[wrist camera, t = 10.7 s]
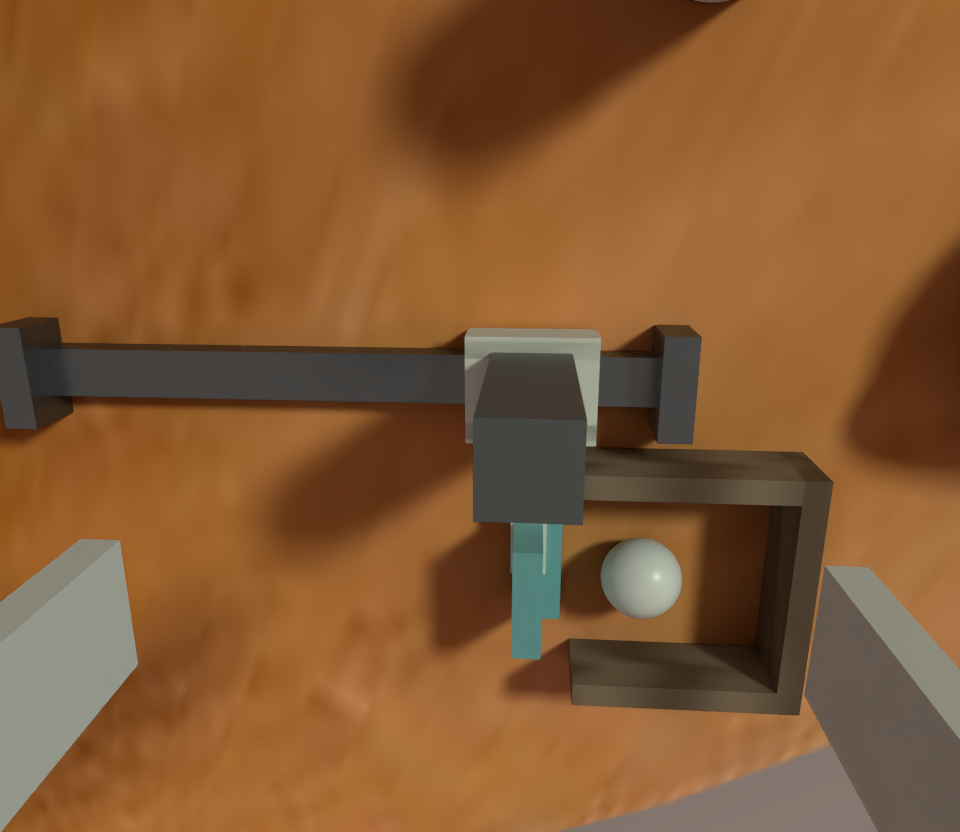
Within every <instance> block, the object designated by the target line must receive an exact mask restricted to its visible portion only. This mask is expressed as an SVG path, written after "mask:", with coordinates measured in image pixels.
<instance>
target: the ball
mask: <svg viewBox="0 0 960 832" xmlns="http://www.w3.org/2000/svg"><path fill="white" fill-rule="evenodd" d="M601 584H602V588H603V591H604V594H605V596H606V597H607V599H608V601H609V602H610V603H611V604H612V605H613V606H614V607H615V608H616V609H617V610H618V611H620V612H621V613H623V614H625V615H627V616H630V617H634V618H638V619H647V618H653V617H656V616H659V615H661V614H663V613H664V612H666V611H667V610H668V609H669V608H671V607H672V605H673V604H674V603H675V601H676V600H677V598H678V596H679V593H680V590H681V584H682V575H681V570H680V566H679V564H678V562H677V560H676V558H675V556H674V555H673V554H672V553H671V551H670V550H669V549H668V548H666V547H665V546H664V545H662V544H661V543H659V542H657V541H655V540H652V539H648V538H631V539H627V540H624V541H622V542H620V543H619V544H617V545H616V546H614V547H613V548H612V549H611V550H610V551H609V553H608V554H607V556H606V557H605V559H604V562H603V564H602V568H601Z"/></svg>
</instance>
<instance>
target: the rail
mask: <svg viewBox="0 0 960 832" xmlns="http://www.w3.org/2000/svg"><path fill="white" fill-rule="evenodd" d="M701 340H702V337H701V336H700V335H699V334H698V333H697V332H695V331H694V330H693V329H692V328H691V327H690V326H689V325H655V330H654V345H653V351H600V371H599V392H598V406H606V407H649V418H648V425H649V427H650V429H651V431H652V433H653V435H654V438H655V440H656V442H657V443H658V444H693V433H694V421H695V409H696V398H697V386H698V375H699V363H700V352H701ZM71 396H98V397H149V398H200V399H251V400H301V401H352V402H403V403H454V404H465V349H448V348H379V347H310V346H242V345H173V344H104V343H62V340H61V334H60V328H59V322H58V318H37V317H27V318H23V319H19V320H15V321H11V322H7V323H3V324H0V400H1V405H2V410H3V416H4V421H5V426H6V428H7V429H39V428H41V427H43V426H45V425H47V424H49V423H51V422H53V421H55V420H57V419H59V418H62V417H64V416H66V415H68V414H70V413H72V412H73V407H72V401H71Z"/></svg>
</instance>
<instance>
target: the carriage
mask: <svg viewBox="0 0 960 832" xmlns="http://www.w3.org/2000/svg"><path fill="white" fill-rule="evenodd" d="M600 349H601V337H600V335H599V332H598V331H596V330H595V329H522V328H471V329H468V331H467V333H466V335H465V443H473V522H499V523H511V538H510V573H512V639H511V658H519V659H541V621H542V618H545V619H559V615H560V586H561V557H562V528H563V524H564V525H583V508H584V484H585V461H586V446H596V435H597V413H598V392H599V371H600Z"/></svg>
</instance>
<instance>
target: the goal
mask: <svg viewBox="0 0 960 832" xmlns="http://www.w3.org/2000/svg"><path fill="white" fill-rule="evenodd" d="M832 488H833V481H831V480H830V479H829V478H828V477H827V476H826V475H825V474H824V473H823V472H822V471H821V470H820V469H819V468H818V467H817V466H816V465H815V464H814V463H813V462H812V461H811V460H810V459H809V458H808V457H807V456H806V455H805V454H804V453H803V452H770V451H727V450H685V449H642V448H600V447H586V461H585V484H584V500H602V501H637V502H672V503H707V504H742V505H772V507H771V516H770V524H769V532H768V540H767V548H766V557H765V565H764V573H763V581H762V589H761V598H760V606H759V614H758V622H757V630H756V639H755V646H734V645H710V644H686V643H662V642H638V641H614V640H590V639H569V672H570V687H571V702H572V705H590V706H611V707H632V708H653V709H674V710H695V711H716V712H737V713H758V714H779V715H799V713H800V706H801V699H802V693H803V686H804V679H805V672H806V665H807V658H808V652H809V645H810V638H811V631H812V624H813V617H814V611H815V604H816V597H817V590H818V583H819V576H820V570H821V563H822V556H823V549H824V542H825V535H826V529H827V522H828V515H829V508H830V501H831V494H832Z"/></svg>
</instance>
